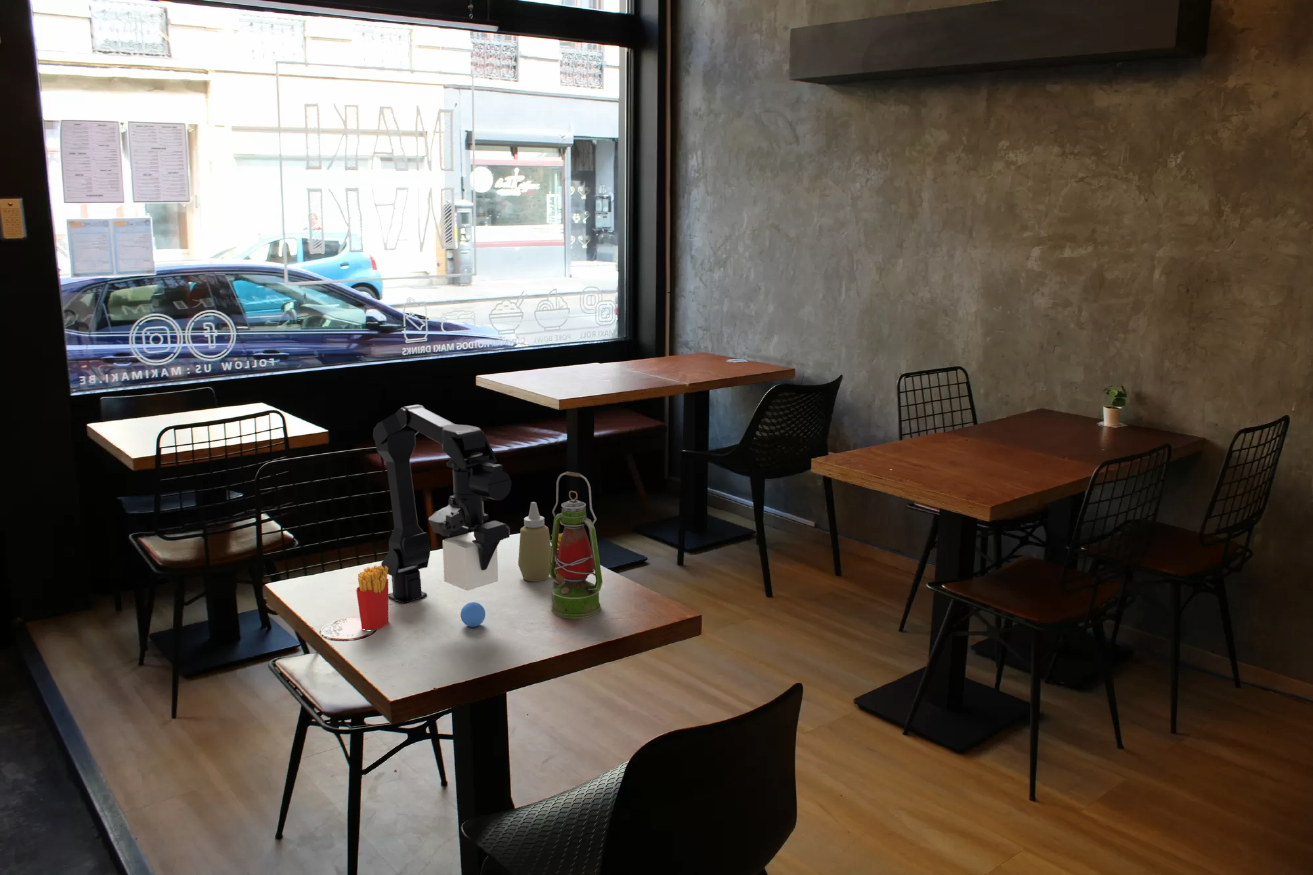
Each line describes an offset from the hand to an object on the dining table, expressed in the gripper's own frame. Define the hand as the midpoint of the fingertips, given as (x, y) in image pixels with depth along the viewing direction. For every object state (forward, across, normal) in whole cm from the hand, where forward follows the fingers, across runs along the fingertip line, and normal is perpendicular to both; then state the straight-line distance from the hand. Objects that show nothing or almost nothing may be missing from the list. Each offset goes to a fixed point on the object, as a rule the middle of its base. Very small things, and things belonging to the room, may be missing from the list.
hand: (471, 565), depth 214 cm
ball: (+10, 0, 0) cm, 10 cm away
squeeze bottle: (+13, -12, +27) cm, 32 cm away
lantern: (+13, +9, +20) cm, 26 cm away
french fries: (+13, -15, -14) cm, 24 cm away
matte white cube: (+3, 0, 0) cm, 3 cm away
